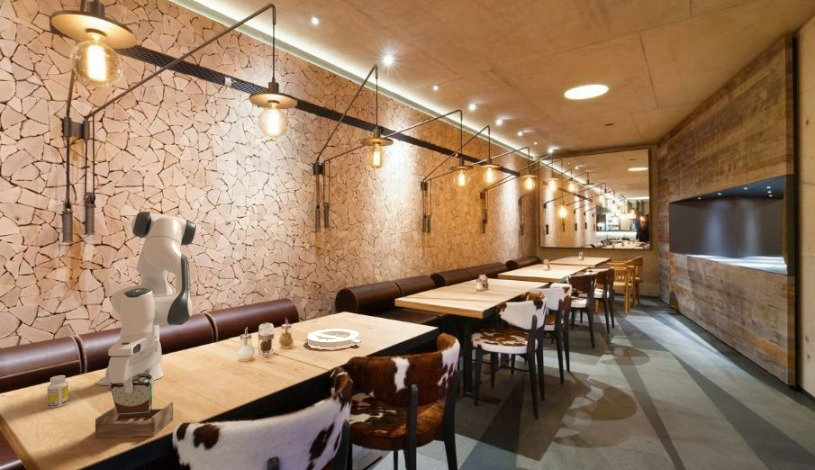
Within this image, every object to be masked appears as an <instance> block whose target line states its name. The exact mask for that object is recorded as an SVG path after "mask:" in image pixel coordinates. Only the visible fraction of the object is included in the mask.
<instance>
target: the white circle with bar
mask: <svg viewBox="0 0 815 470" xmlns="http://www.w3.org/2000/svg"><path fill="white" fill-rule="evenodd" d="M336 334H339V335H347V336H349V337H346V338H343V337H336V336H330V335H336ZM359 336H360V335H359V332H357V331H355V330H352V329H345V328H329V329H323V330H316V331H314V332H309V333H306V339H307V341H306V342H308V343H309V344H310V345H314V346H320V347H336V346H343V345H348V344H351V343H353V344H359V343H361V342H362V339H359V338H360V337H359ZM319 338H322V339H319ZM326 339H328V340H326ZM358 339H359V340H358Z"/></svg>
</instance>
